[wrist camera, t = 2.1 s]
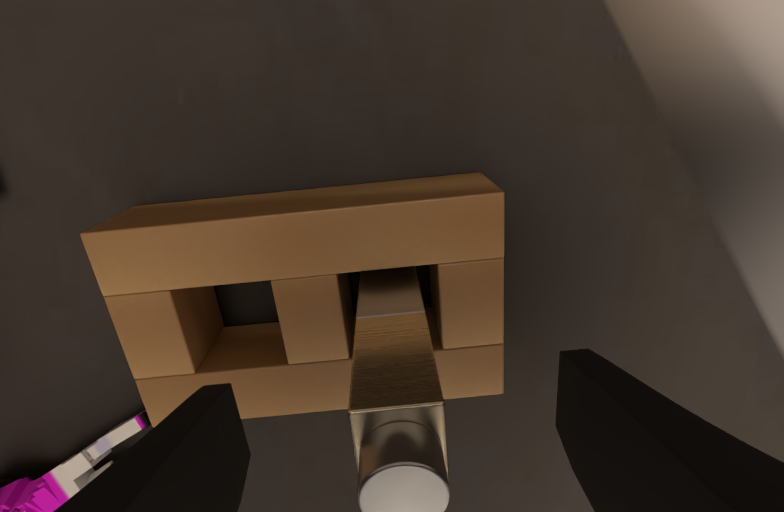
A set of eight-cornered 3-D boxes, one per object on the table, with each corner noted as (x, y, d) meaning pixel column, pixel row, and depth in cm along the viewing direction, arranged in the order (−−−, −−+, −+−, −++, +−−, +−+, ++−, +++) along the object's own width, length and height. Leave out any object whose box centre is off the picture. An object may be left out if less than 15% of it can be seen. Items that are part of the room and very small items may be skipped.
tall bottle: (415, 298, 17) (458, 538, 8) (368, 302, 17) (359, 548, 8) (410, 244, 16) (453, 444, 7) (361, 249, 16) (343, 455, 7)
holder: (484, 345, 18) (504, 394, 15) (187, 373, 18) (151, 428, 15) (480, 171, 15) (504, 191, 12) (133, 205, 15) (78, 233, 12)
